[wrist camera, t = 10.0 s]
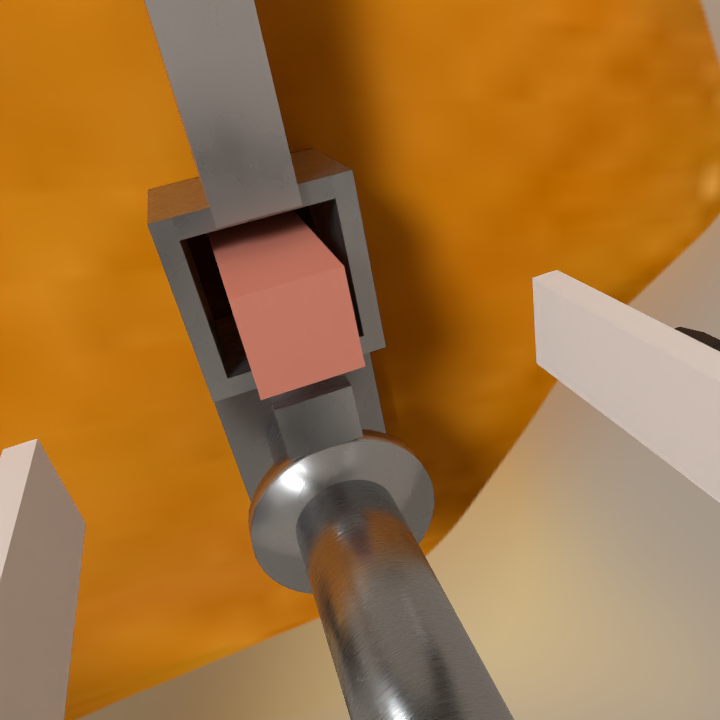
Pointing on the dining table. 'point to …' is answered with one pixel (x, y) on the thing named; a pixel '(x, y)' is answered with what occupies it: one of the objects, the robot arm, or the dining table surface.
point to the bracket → (242, 175)
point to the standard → (357, 547)
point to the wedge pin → (287, 302)
